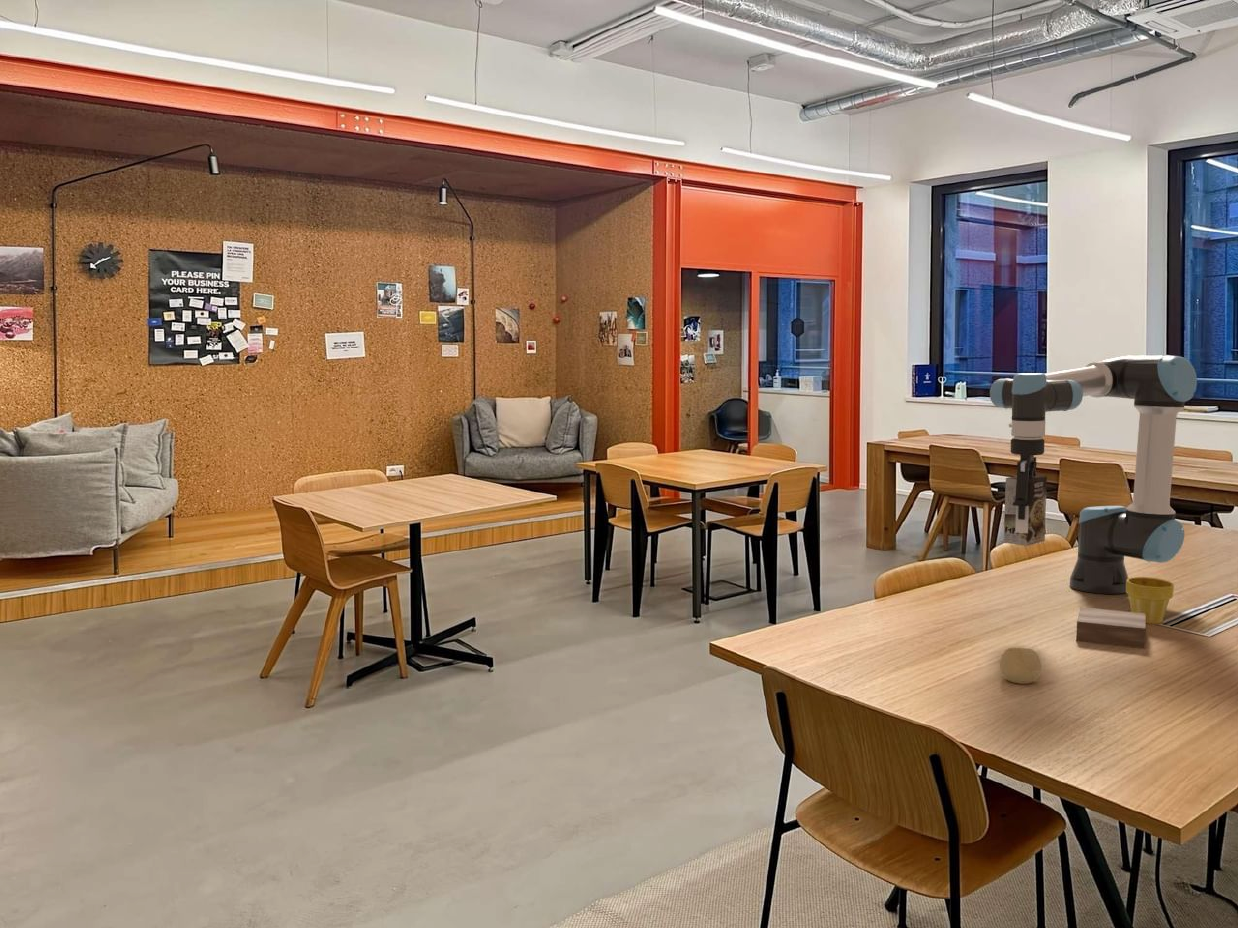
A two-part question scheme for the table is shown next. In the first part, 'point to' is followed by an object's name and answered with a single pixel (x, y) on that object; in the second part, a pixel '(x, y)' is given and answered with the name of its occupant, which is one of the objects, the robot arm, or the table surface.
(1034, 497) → the coffee box
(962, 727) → the table surface
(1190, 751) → the table surface
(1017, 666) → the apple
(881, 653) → the table surface
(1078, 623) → the walnut block
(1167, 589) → the plant pot
